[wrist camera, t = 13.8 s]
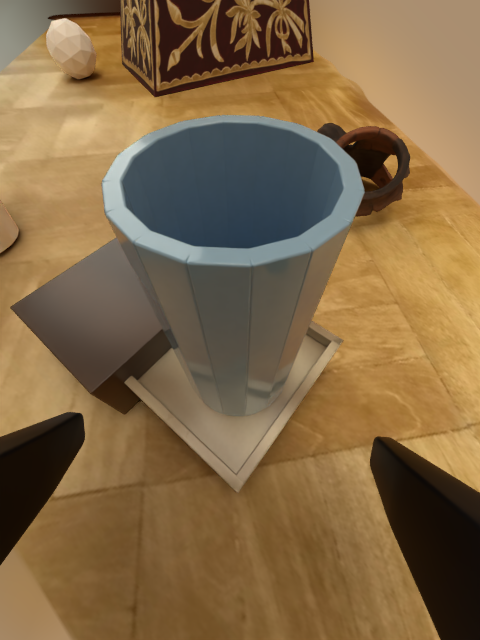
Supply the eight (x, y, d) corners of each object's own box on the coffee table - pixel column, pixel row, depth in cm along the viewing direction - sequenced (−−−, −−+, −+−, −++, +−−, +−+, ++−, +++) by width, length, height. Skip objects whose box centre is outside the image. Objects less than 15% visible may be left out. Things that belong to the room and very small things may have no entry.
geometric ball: (98, 91, 56) (110, 46, 51) (70, 87, 49) (80, 35, 45) (65, 62, 54) (73, 13, 49) (31, 54, 48) (37, -3, 43)
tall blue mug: (288, 420, 16) (390, 272, 5) (182, 413, 16) (55, 257, 5) (285, 297, 21) (333, 83, 10) (203, 293, 21) (160, 80, 10)
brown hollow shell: (408, 201, 32) (445, 156, 24) (343, 255, 33) (358, 229, 25) (338, 136, 34) (351, 74, 26) (280, 189, 35) (275, 145, 27)
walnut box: (222, 516, 16) (214, 527, 11) (54, 342, 22) (9, 307, 17) (338, 347, 21) (362, 312, 17) (179, 246, 27) (168, 202, 23)
